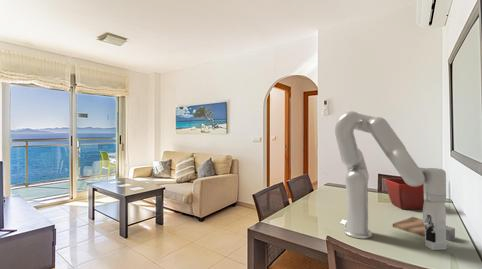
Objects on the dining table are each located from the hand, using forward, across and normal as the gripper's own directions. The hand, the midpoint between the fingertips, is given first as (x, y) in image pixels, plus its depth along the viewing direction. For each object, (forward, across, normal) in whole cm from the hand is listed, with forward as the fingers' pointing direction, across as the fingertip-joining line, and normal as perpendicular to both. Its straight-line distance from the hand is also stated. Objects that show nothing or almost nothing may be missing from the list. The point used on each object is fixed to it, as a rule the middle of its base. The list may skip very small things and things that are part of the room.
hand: (435, 238), depth 102 cm
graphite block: (+4, -15, -2) cm, 16 cm away
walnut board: (+4, -18, -14) cm, 23 cm away
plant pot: (+4, -50, -36) cm, 62 cm away
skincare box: (+4, 0, 0) cm, 4 cm away
